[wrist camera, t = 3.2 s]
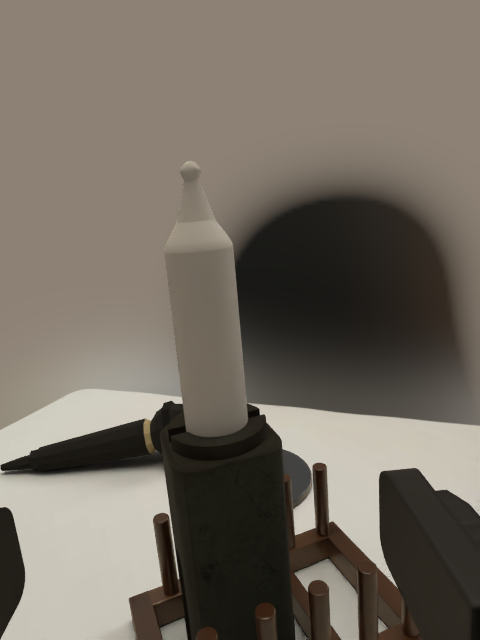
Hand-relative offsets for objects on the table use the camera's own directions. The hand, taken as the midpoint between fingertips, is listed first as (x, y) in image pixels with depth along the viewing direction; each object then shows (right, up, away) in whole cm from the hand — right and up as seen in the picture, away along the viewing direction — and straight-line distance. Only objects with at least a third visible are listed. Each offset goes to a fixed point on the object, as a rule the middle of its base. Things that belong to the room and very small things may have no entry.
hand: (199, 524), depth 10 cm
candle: (+1, -14, +15) cm, 20 cm away
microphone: (-12, -10, +35) cm, 39 cm away
